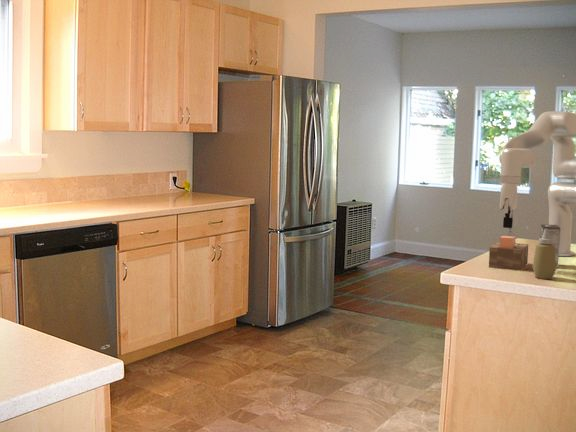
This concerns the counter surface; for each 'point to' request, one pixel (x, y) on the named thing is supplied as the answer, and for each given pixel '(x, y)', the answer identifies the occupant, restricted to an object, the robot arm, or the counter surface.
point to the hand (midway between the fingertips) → (507, 227)
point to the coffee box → (553, 237)
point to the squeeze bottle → (544, 257)
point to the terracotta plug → (507, 242)
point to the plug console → (508, 257)
